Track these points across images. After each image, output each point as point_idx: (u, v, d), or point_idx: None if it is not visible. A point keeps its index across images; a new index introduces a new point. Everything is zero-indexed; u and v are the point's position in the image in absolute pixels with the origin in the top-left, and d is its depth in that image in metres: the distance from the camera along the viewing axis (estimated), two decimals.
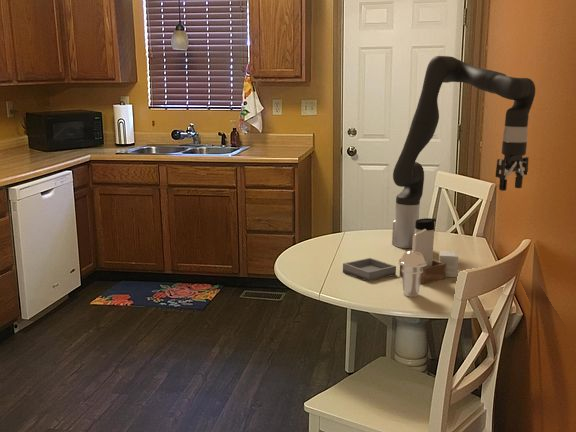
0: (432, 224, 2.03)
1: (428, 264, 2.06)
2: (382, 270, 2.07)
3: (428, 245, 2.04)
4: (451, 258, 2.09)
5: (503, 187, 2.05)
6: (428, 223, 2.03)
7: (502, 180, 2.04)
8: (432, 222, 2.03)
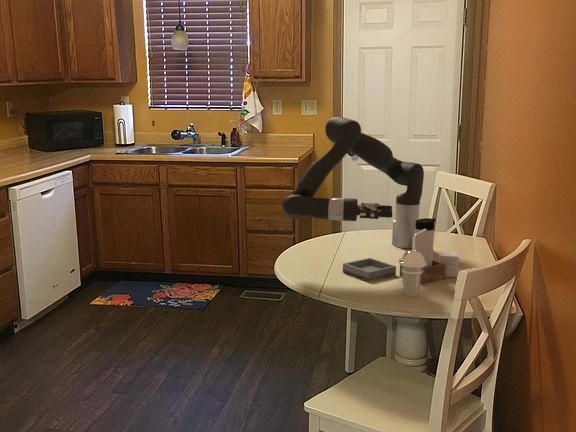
0: (432, 224, 2.03)
1: (428, 264, 2.06)
2: (382, 270, 2.07)
3: (428, 245, 2.04)
4: (451, 258, 2.09)
5: None
6: (428, 223, 2.03)
7: None
8: (432, 222, 2.03)
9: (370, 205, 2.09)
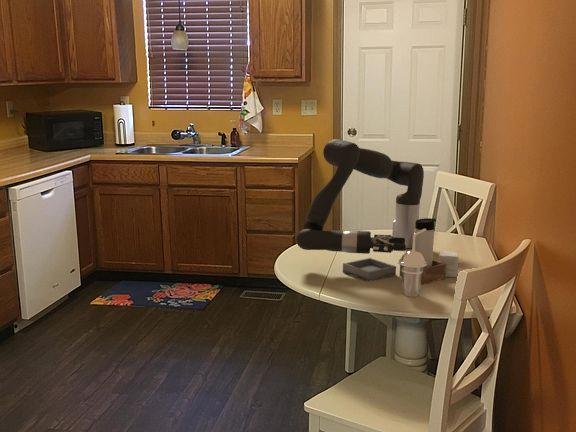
0: (432, 224, 2.03)
1: (428, 264, 2.06)
2: (382, 270, 2.07)
3: (428, 245, 2.04)
4: (451, 258, 2.09)
5: None
6: (428, 223, 2.03)
7: None
8: (432, 222, 2.03)
9: (383, 237, 2.11)
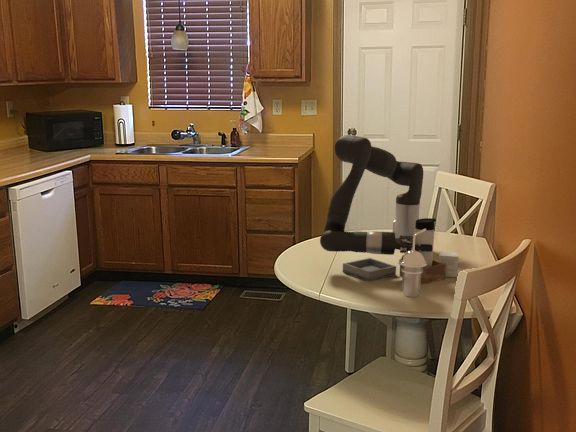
0: (432, 224, 2.03)
1: (428, 264, 2.06)
2: (382, 270, 2.07)
3: None
4: (451, 258, 2.09)
5: None
6: (428, 223, 2.03)
7: None
8: (432, 222, 2.03)
9: (408, 239, 2.09)
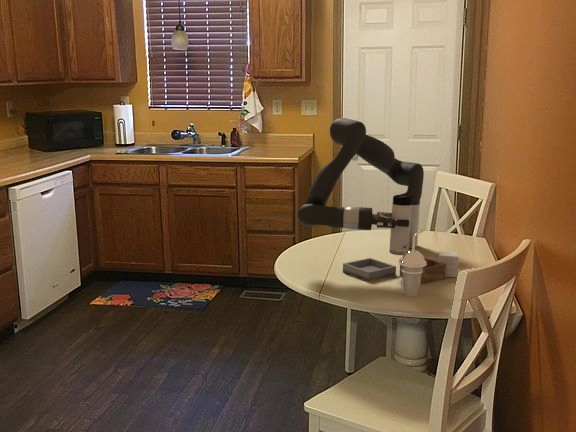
0: (409, 199, 2.03)
1: (405, 240, 2.05)
2: (382, 270, 2.07)
3: None
4: (451, 258, 2.09)
5: None
6: (405, 198, 2.02)
7: None
8: (409, 197, 2.03)
9: (385, 214, 2.09)
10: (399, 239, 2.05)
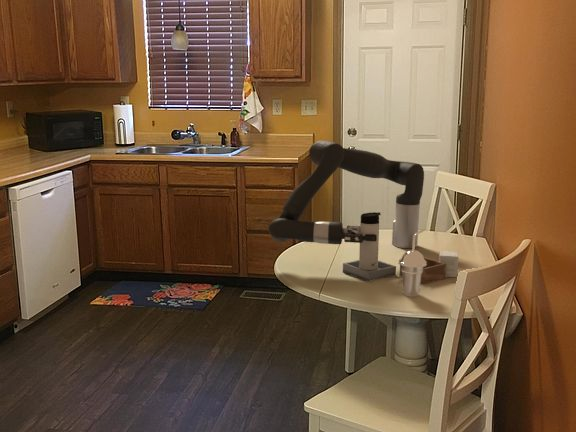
0: (376, 218, 2.06)
1: (373, 257, 2.09)
2: (382, 270, 2.07)
3: None
4: (451, 258, 2.09)
5: None
6: (372, 217, 2.06)
7: None
8: (376, 216, 2.06)
9: (355, 228, 2.12)
10: (367, 257, 2.09)
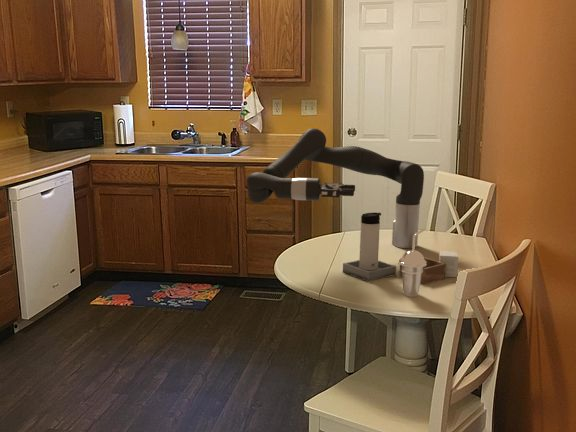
0: (377, 218, 2.06)
1: (373, 257, 2.09)
2: (382, 270, 2.07)
3: (374, 239, 2.07)
4: (451, 258, 2.09)
5: None
6: (373, 217, 2.06)
7: None
8: (377, 216, 2.06)
9: (333, 184, 2.10)
10: (367, 257, 2.09)
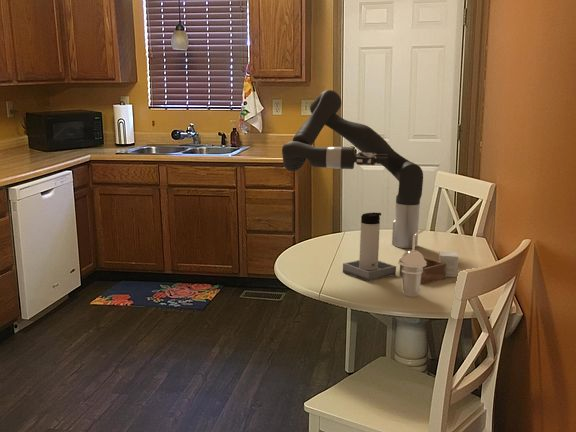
0: (377, 218, 2.06)
1: (373, 258, 2.09)
2: (382, 270, 2.07)
3: (374, 239, 2.07)
4: (451, 258, 2.09)
5: None
6: (373, 217, 2.06)
7: None
8: (377, 216, 2.06)
9: (367, 153, 2.15)
10: (367, 257, 2.09)
